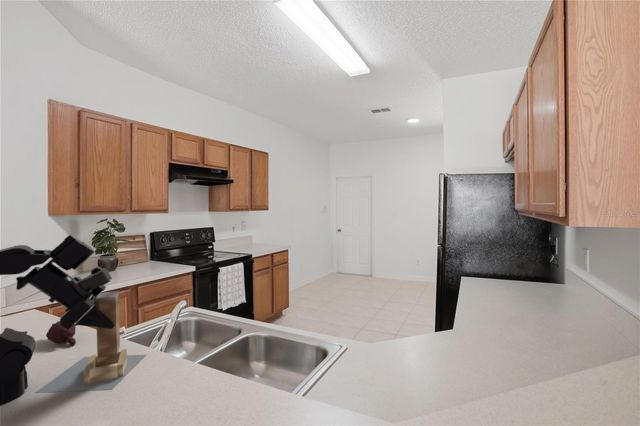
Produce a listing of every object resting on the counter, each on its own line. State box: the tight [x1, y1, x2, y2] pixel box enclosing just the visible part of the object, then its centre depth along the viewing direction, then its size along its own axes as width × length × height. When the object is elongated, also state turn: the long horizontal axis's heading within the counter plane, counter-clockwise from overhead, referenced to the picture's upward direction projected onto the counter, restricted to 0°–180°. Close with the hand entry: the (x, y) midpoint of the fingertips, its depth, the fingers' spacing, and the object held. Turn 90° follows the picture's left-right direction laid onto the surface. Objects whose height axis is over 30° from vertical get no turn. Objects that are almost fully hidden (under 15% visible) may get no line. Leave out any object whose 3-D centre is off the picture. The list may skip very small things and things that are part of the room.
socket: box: [83, 348, 128, 385], centre depth 79 cm, size 8×9×3 cm
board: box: [34, 354, 147, 394], centre depth 79 cm, size 16×17×1 cm
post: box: [96, 290, 121, 358], centre depth 78 cm, size 4×5×15 cm
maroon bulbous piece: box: [45, 320, 77, 347], centre depth 98 cm, size 7×7×15 cm
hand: (114, 323), depth 79 cm, fingers closed on post, 5 cm apart
